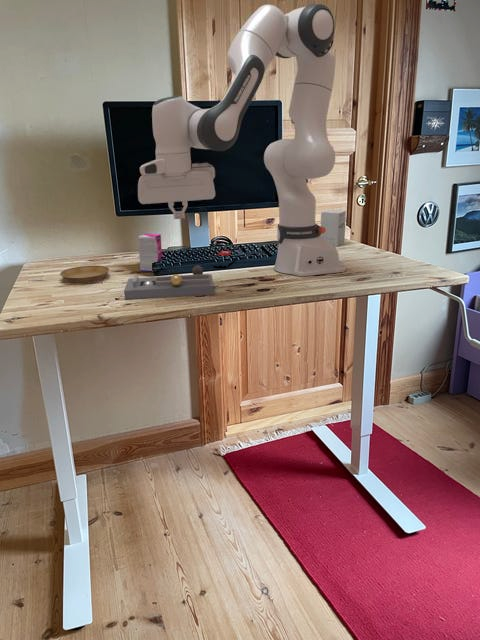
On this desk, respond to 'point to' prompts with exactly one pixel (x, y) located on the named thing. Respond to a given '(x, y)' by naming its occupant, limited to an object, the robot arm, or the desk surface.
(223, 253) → the race car
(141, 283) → the board
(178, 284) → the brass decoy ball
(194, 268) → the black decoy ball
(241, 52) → the robot arm
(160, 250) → the supplement box
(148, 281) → the steel ball
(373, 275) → the desk surface
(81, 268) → the plant saucer
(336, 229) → the supplement box
